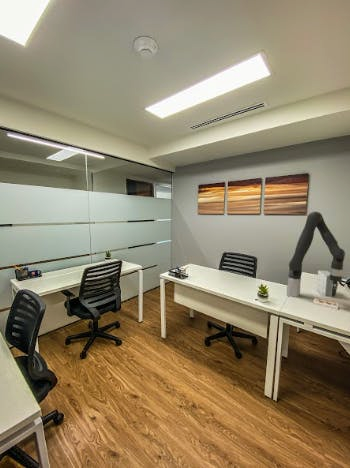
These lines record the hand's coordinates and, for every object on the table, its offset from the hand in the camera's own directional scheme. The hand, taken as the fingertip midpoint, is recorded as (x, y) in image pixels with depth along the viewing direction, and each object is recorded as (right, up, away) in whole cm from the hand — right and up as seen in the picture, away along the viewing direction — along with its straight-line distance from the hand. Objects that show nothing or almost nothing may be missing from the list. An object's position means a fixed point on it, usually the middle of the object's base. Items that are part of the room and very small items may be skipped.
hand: (333, 294), depth 158 cm
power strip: (-7, -10, +2) cm, 12 cm away
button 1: (-10, -8, +3) cm, 13 cm away
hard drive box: (+11, -7, +23) cm, 26 cm away
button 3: (-2, -9, -2) cm, 9 cm away
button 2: (-6, -8, 0) cm, 10 cm away
